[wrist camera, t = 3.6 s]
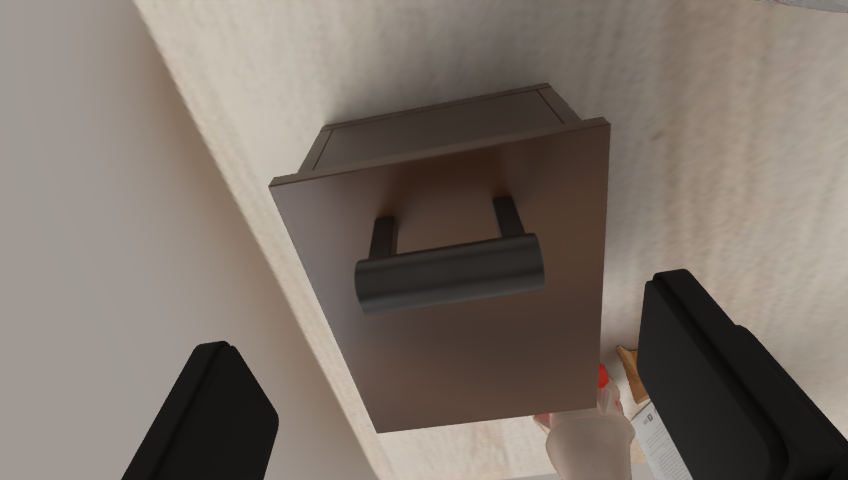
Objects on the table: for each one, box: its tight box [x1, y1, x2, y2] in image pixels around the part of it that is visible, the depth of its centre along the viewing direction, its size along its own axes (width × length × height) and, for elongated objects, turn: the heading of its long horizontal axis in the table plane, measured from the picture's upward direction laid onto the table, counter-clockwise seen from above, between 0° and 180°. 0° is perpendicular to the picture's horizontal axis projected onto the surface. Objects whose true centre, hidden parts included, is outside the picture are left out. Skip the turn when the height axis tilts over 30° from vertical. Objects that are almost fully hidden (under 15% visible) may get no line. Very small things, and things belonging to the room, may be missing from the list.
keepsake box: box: [297, 83, 582, 173], centre depth 21 cm, size 13×11×7 cm
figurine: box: [533, 345, 650, 480], centre depth 27 cm, size 9×7×12 cm
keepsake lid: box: [268, 117, 611, 433], centre depth 16 cm, size 14×11×5 cm
